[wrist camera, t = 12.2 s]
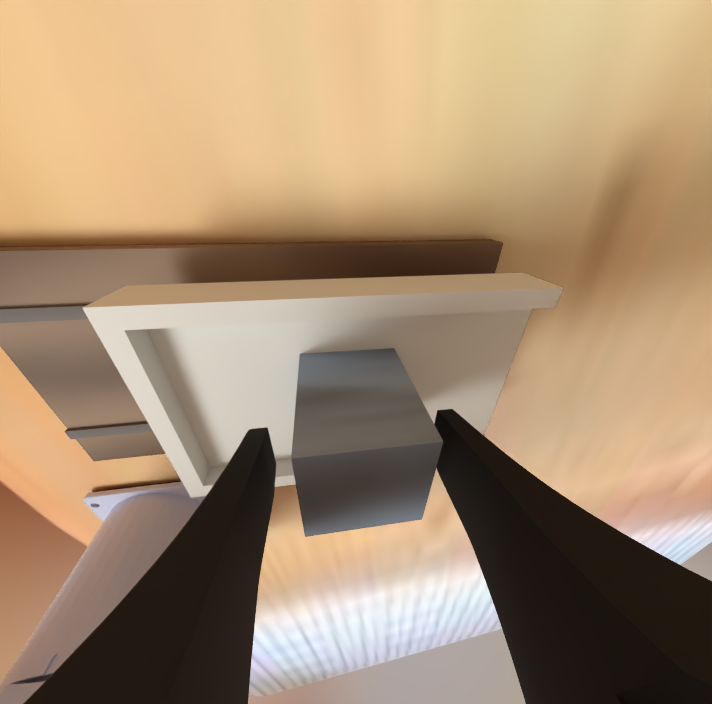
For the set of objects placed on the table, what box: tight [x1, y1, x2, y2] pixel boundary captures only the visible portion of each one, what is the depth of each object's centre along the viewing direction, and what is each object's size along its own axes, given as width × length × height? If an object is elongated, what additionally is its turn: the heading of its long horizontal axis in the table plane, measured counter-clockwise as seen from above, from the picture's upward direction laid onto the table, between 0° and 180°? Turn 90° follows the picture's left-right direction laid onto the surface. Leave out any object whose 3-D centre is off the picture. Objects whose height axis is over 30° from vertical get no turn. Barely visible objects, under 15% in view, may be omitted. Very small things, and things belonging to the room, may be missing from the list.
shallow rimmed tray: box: [82, 273, 563, 498], centre depth 13 cm, size 10×16×3 cm, turn 90°
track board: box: [0, 240, 503, 461], centre depth 14 cm, size 12×23×1 cm, turn 90°
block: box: [291, 348, 443, 537], centre depth 10 cm, size 4×4×5 cm
